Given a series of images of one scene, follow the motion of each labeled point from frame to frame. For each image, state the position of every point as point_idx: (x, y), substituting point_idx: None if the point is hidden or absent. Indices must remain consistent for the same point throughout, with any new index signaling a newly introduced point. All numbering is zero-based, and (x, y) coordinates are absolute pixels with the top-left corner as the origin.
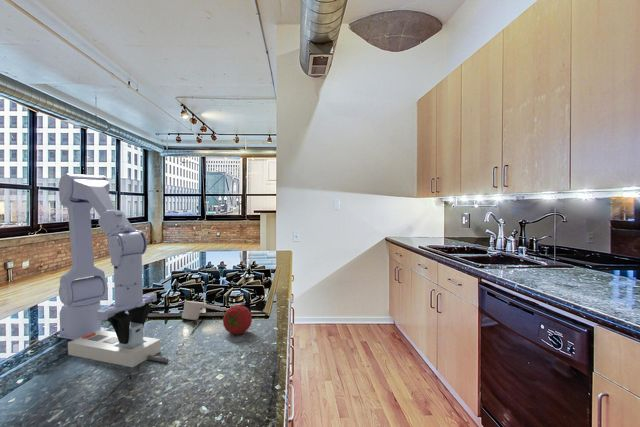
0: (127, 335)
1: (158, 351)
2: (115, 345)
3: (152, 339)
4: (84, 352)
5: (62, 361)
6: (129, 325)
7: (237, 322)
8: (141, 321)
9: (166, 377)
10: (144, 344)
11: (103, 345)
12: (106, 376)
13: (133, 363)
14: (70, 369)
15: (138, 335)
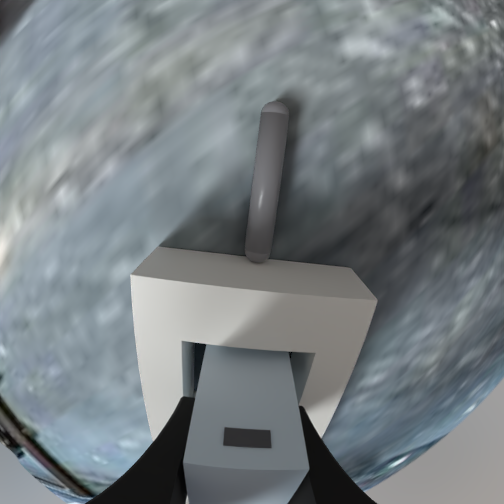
0: (309, 442)
1: (172, 250)
2: None
3: (151, 325)
4: None
5: None
6: (316, 500)
7: None
8: (173, 485)
9: (399, 44)
10: (232, 327)
11: None
12: (416, 315)
13: (350, 274)
14: (358, 439)
15: (240, 404)
